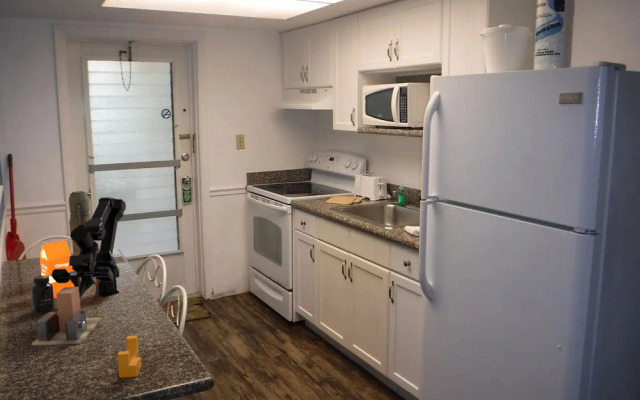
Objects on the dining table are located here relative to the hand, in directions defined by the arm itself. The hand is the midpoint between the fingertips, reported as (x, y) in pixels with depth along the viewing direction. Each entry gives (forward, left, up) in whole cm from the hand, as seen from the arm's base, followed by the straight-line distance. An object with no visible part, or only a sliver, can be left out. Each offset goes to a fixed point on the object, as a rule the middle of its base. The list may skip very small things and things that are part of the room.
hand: (77, 298), depth 181 cm
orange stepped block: (+5, +44, -8) cm, 45 cm away
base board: (+6, +6, -8) cm, 11 cm away
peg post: (+5, +5, -7) cm, 10 cm away
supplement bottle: (+4, -19, -8) cm, 21 cm away
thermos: (-25, -50, -8) cm, 57 cm away
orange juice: (-7, -33, -8) cm, 35 cm away
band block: (+9, +9, -7) cm, 15 cm away
